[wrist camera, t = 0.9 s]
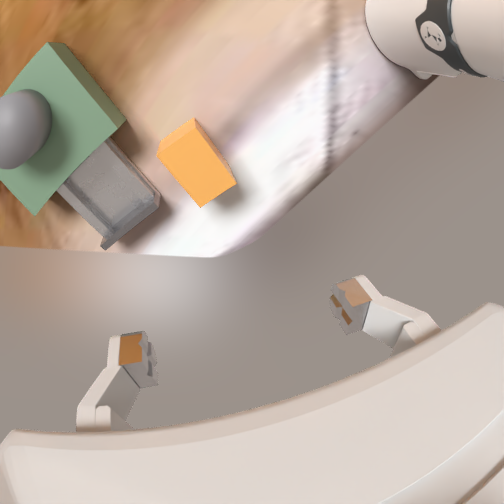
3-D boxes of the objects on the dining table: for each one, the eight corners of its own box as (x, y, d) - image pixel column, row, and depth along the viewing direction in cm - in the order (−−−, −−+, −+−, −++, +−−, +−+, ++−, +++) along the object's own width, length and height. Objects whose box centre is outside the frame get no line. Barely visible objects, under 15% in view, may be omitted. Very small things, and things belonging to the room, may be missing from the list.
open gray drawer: (108, 134, 29) (100, 143, 27) (160, 194, 36) (158, 207, 33) (59, 184, 31) (49, 197, 28) (110, 234, 38) (105, 250, 35)
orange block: (193, 117, 31) (195, 127, 27) (228, 165, 36) (236, 183, 31) (160, 141, 32) (156, 155, 27) (197, 186, 37) (200, 207, 32)
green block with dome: (64, 43, 20) (30, 41, 13) (127, 120, 29) (109, 139, 22) (-9, 133, 23) (-46, 157, 16) (48, 198, 32) (23, 234, 25)
